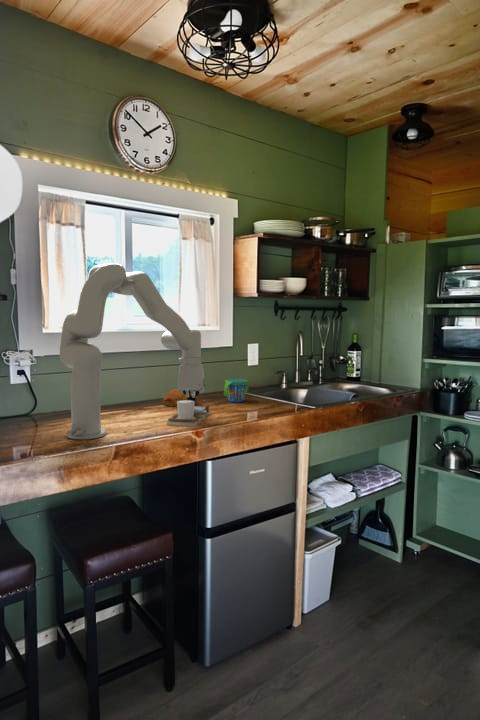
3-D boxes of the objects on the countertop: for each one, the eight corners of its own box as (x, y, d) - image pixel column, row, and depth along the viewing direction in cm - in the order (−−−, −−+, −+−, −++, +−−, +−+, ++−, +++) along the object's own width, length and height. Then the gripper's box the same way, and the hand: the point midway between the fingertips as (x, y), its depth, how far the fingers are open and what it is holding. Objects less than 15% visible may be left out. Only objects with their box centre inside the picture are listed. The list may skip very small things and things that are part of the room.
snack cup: (240, 398, 244) (240, 377, 243) (255, 401, 236) (256, 379, 235) (216, 401, 233) (216, 380, 232) (231, 405, 225) (232, 383, 224)
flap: (200, 414, 195) (200, 411, 195) (178, 413, 196) (178, 410, 196) (206, 409, 204) (206, 406, 204) (185, 408, 206) (185, 405, 206)
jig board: (195, 426, 184) (195, 415, 183) (166, 424, 186) (166, 414, 185) (209, 414, 205) (209, 404, 205) (183, 412, 207) (183, 403, 207)
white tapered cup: (198, 419, 190) (198, 401, 189) (184, 422, 185) (184, 403, 184) (187, 416, 194) (187, 399, 194) (173, 419, 190) (173, 401, 189)
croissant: (178, 404, 237) (176, 388, 237) (202, 404, 227) (201, 386, 227) (155, 408, 225) (154, 391, 225) (180, 408, 216) (179, 389, 216)
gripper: (170, 361, 194) (170, 408, 196) (207, 362, 191) (207, 409, 193) (176, 359, 201) (176, 404, 203) (212, 360, 198) (211, 406, 200)
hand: (191, 406), depth 198 cm, fingers closed
